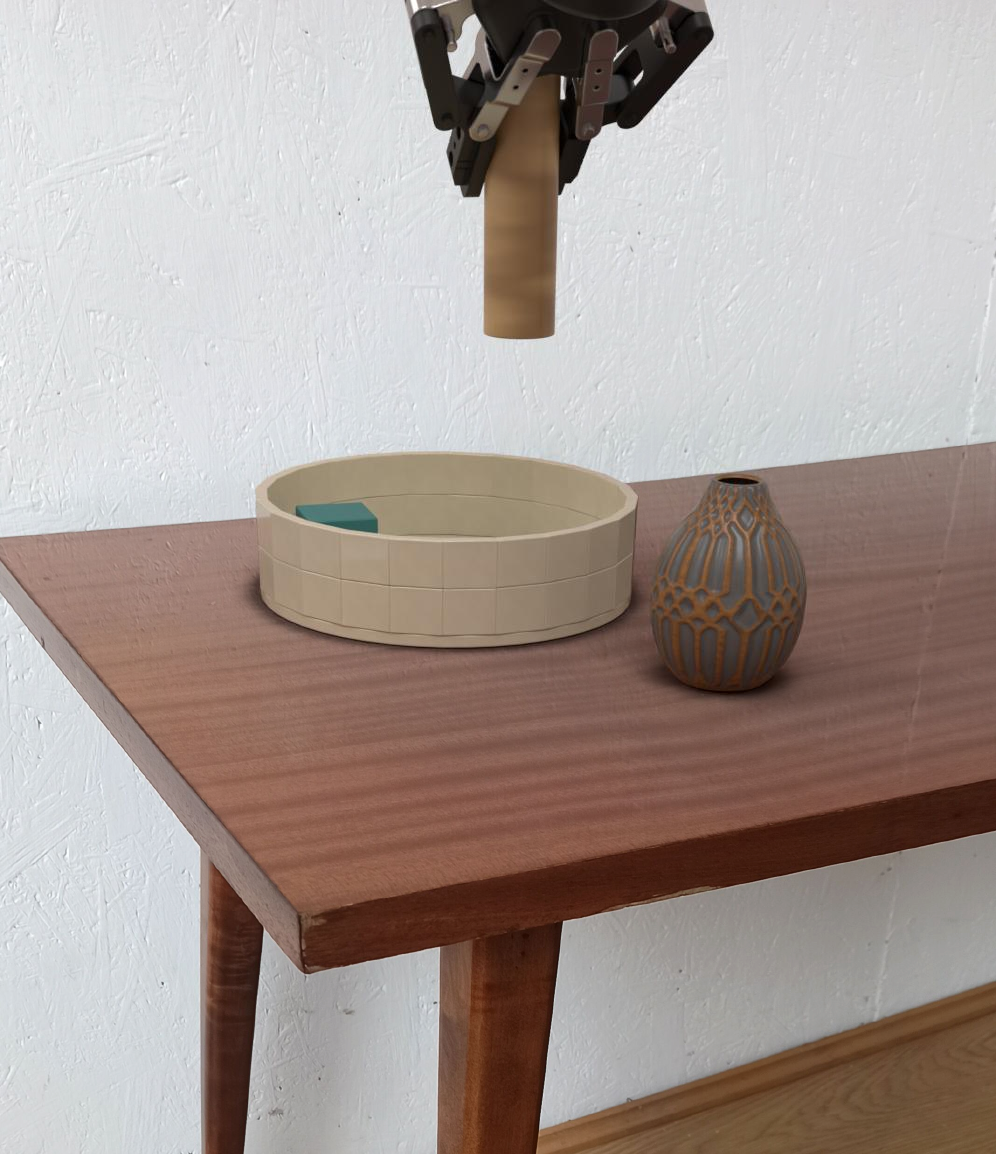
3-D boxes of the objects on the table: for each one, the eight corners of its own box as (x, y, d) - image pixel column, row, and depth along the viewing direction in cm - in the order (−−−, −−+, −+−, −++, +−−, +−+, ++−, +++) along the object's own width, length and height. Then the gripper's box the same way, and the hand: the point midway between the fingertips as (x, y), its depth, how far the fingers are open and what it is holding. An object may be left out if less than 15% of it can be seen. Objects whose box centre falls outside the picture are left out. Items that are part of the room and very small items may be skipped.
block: (363, 569, 90) (362, 501, 88) (379, 588, 87) (378, 517, 85) (297, 573, 89) (294, 504, 87) (311, 592, 86) (309, 521, 85)
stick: (557, 329, 83) (566, -14, 76) (551, 340, 80) (559, -15, 73) (488, 326, 84) (490, -15, 76) (479, 337, 81) (480, -16, 73)
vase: (826, 679, 78) (851, 481, 74) (733, 714, 74) (753, 506, 70) (708, 644, 82) (725, 454, 78) (613, 675, 78) (625, 476, 74)
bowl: (640, 552, 97) (646, 460, 94) (618, 659, 80) (625, 550, 78) (305, 534, 98) (302, 443, 96) (218, 634, 82) (211, 528, 79)
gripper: (763, -233, 67) (626, 112, 83) (414, -253, 63) (342, 113, 79) (812, -74, 65) (664, 245, 81) (459, -84, 61) (377, 254, 77)
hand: (506, 179), depth 80 cm, fingers closed on stick, 3 cm apart
